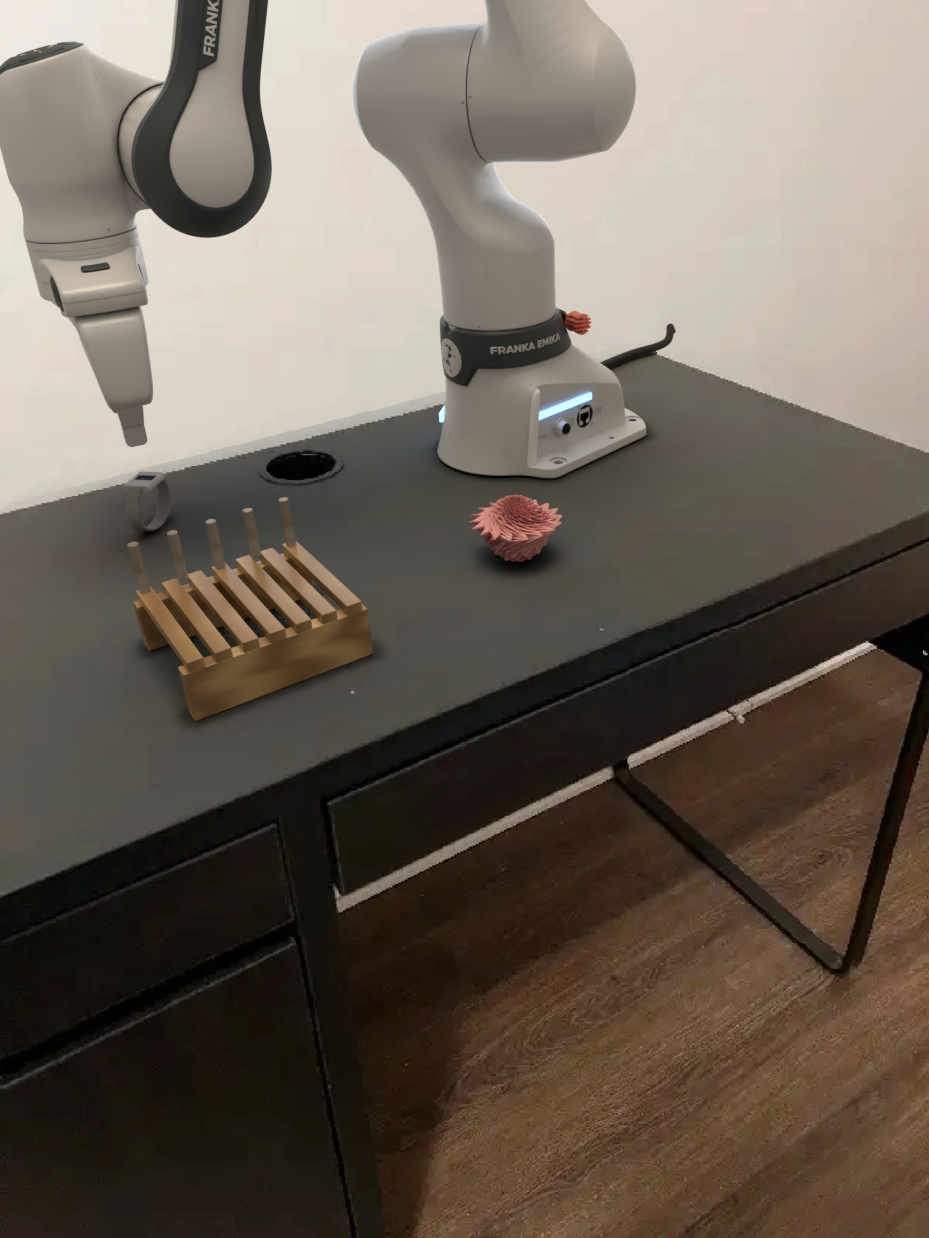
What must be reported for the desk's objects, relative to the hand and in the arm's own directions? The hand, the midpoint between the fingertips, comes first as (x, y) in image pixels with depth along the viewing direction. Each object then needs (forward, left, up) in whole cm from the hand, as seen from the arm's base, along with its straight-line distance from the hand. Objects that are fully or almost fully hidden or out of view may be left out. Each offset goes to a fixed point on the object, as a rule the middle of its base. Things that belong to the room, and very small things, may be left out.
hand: (128, 426), depth 93 cm
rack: (0, +26, -10) cm, 28 cm away
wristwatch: (0, 0, -10) cm, 10 cm away
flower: (-24, +26, -10) cm, 37 cm away
